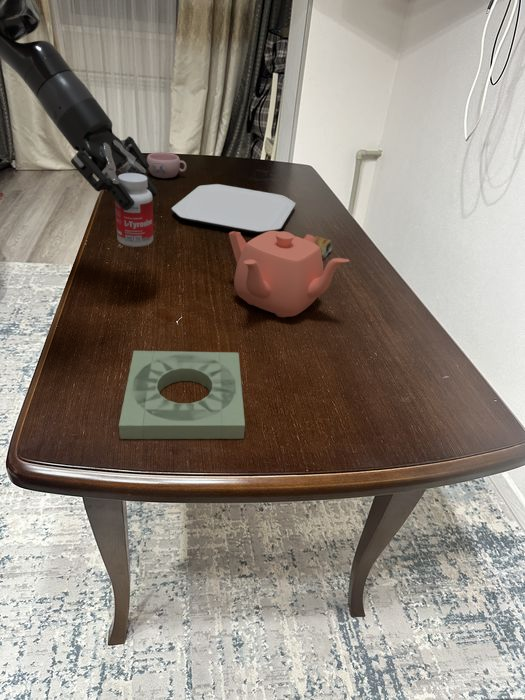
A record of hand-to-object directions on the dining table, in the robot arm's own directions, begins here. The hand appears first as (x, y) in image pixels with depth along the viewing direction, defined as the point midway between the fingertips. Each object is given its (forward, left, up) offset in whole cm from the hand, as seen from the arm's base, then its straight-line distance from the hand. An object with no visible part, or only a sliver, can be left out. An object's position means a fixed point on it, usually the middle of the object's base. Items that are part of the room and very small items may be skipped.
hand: (142, 201), depth 82 cm
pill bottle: (-2, +1, -8) cm, 8 cm away
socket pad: (+8, -28, -18) cm, 35 cm away
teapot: (+25, 0, -19) cm, 31 cm away
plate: (+19, +47, -19) cm, 54 cm away
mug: (-1, +75, -19) cm, 77 cm away
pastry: (+36, +24, -19) cm, 47 cm away
